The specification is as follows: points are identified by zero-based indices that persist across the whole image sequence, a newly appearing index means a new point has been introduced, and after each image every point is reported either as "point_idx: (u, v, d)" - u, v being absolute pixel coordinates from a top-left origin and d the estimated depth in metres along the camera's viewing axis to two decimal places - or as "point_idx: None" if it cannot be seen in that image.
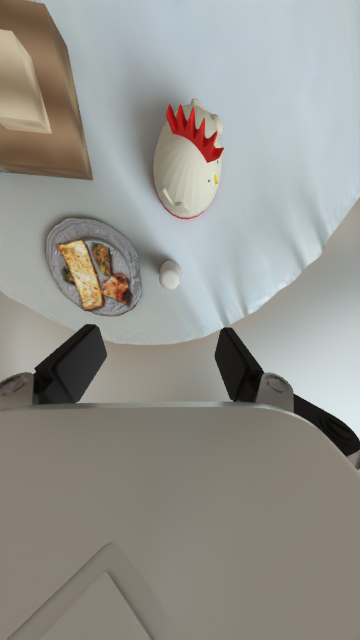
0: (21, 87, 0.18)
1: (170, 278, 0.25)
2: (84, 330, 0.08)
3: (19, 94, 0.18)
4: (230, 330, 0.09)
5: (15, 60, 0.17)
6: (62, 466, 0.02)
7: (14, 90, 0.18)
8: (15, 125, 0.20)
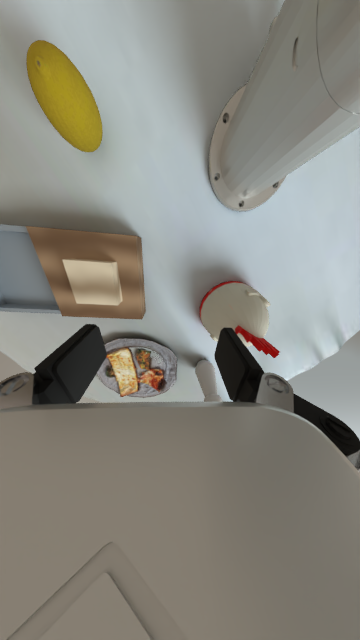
0: (109, 289, 0.21)
1: None
2: (84, 330, 0.08)
3: (106, 292, 0.22)
4: (230, 330, 0.09)
5: (108, 276, 0.21)
6: (62, 466, 0.02)
7: (102, 290, 0.22)
8: None
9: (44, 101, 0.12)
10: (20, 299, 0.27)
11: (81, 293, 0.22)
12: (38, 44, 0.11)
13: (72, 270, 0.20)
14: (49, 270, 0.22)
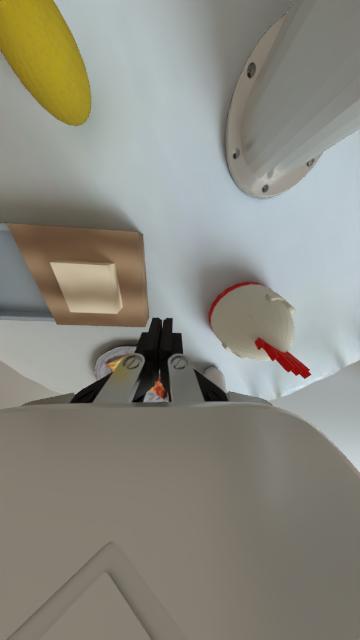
0: (106, 295, 0.18)
1: None
2: (156, 322, 0.09)
3: (103, 299, 0.19)
4: (169, 320, 0.10)
5: (105, 281, 0.17)
6: (62, 466, 0.02)
7: (99, 297, 0.19)
8: None
9: (5, 44, 0.09)
10: (12, 305, 0.25)
11: (75, 301, 0.19)
12: None
13: (62, 275, 0.17)
14: (38, 274, 0.19)
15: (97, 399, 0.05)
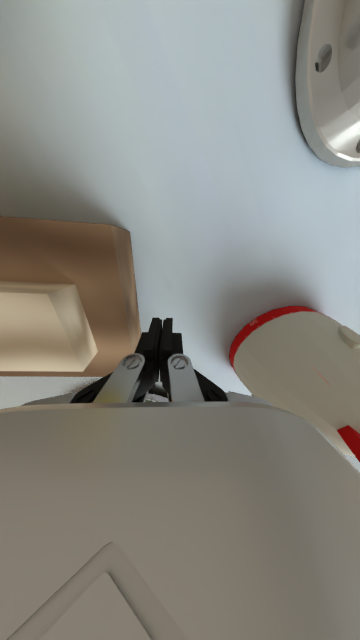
0: (58, 346, 0.10)
1: None
2: (156, 322, 0.09)
3: (52, 351, 0.10)
4: (169, 320, 0.10)
5: (51, 323, 0.09)
6: (62, 466, 0.02)
7: (44, 349, 0.10)
8: None
9: None
10: None
11: None
12: None
13: None
14: None
15: (97, 398, 0.05)
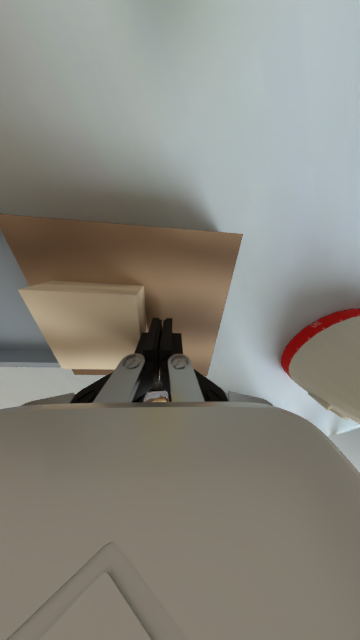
0: (128, 345, 0.10)
1: None
2: (156, 322, 0.09)
3: (121, 350, 0.10)
4: (169, 320, 0.10)
5: (129, 322, 0.09)
6: (62, 466, 0.02)
7: (114, 348, 0.10)
8: None
9: None
10: (5, 342, 0.16)
11: (70, 353, 0.10)
12: None
13: (46, 313, 0.09)
14: None
15: (97, 399, 0.05)
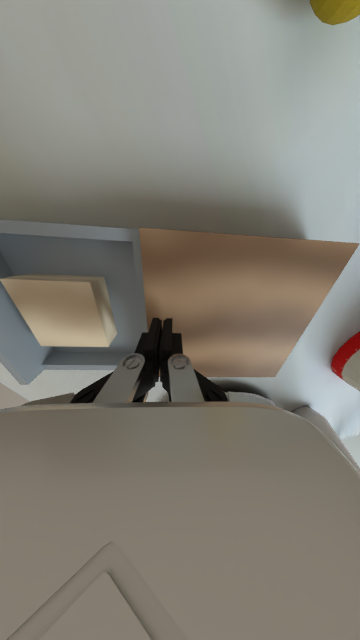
0: None
1: None
2: (156, 322, 0.09)
3: None
4: (169, 320, 0.10)
5: None
6: (62, 466, 0.02)
7: None
8: None
9: None
10: None
11: None
12: None
13: None
14: (156, 312, 0.11)
15: (97, 399, 0.05)
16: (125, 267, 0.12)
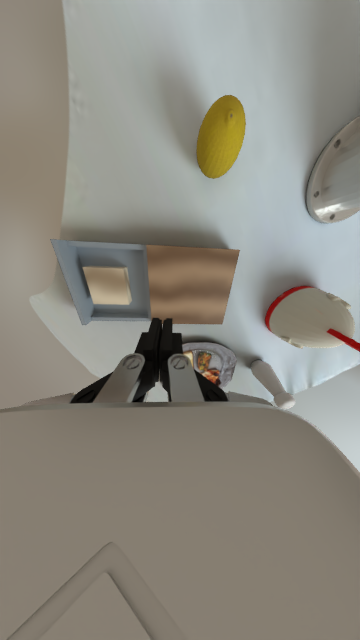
0: None
1: (290, 405, 0.31)
2: (156, 322, 0.09)
3: None
4: (169, 320, 0.10)
5: None
6: (62, 466, 0.02)
7: None
8: None
9: (216, 143, 0.14)
10: (109, 309, 0.29)
11: None
12: (231, 99, 0.13)
13: None
14: (154, 282, 0.24)
15: (97, 398, 0.05)
16: (138, 262, 0.25)
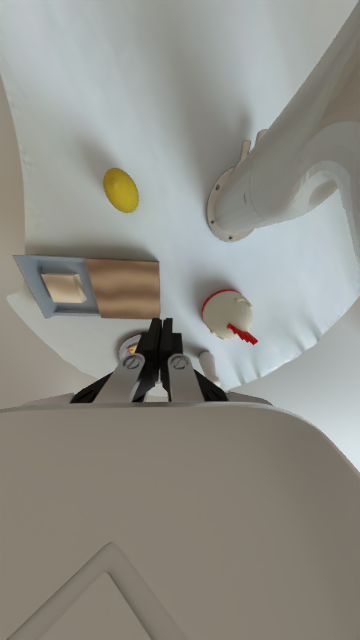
0: None
1: None
2: (156, 322, 0.09)
3: None
4: (169, 320, 0.10)
5: None
6: (62, 466, 0.02)
7: None
8: None
9: (111, 196, 0.22)
10: (69, 306, 0.37)
11: None
12: (113, 173, 0.20)
13: None
14: (96, 286, 0.31)
15: (97, 398, 0.05)
16: (86, 270, 0.33)
